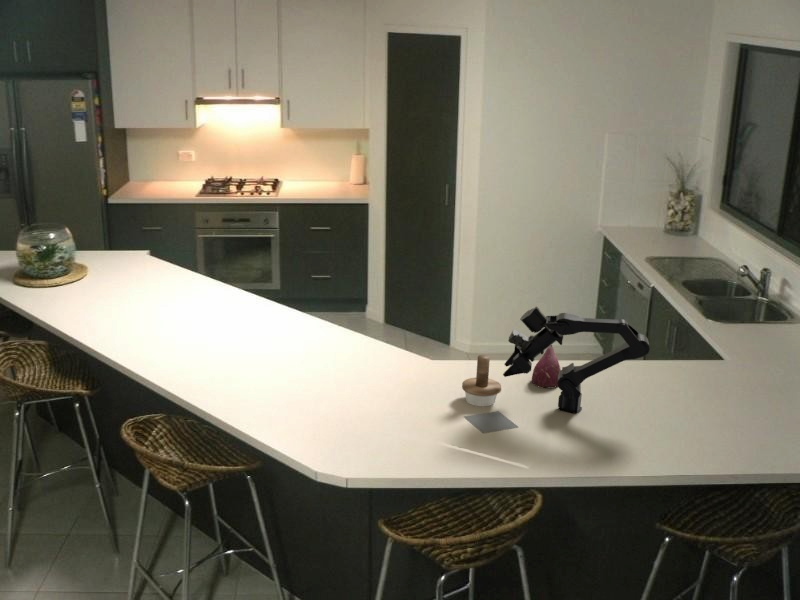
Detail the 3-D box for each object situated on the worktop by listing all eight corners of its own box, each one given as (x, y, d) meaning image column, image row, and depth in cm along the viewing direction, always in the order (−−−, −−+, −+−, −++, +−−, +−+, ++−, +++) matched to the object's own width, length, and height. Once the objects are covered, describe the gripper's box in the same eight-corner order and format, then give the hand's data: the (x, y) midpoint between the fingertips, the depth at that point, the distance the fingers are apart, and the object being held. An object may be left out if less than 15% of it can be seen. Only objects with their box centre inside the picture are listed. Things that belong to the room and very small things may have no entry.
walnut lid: (508, 392, 334) (511, 361, 330) (475, 398, 328) (477, 366, 324) (487, 378, 344) (489, 347, 341) (454, 384, 338) (456, 353, 335)
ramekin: (497, 397, 343) (498, 382, 341) (496, 410, 332) (498, 396, 330) (464, 394, 344) (465, 380, 342) (462, 408, 333) (463, 393, 331)
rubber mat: (498, 412, 330) (498, 410, 330) (518, 428, 319) (518, 427, 319) (463, 418, 325) (463, 416, 324) (482, 435, 313) (483, 433, 313)
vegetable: (538, 384, 363) (540, 342, 362) (565, 387, 357) (567, 345, 357) (526, 386, 354) (528, 343, 353) (553, 389, 348) (556, 346, 348)
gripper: (525, 314, 336) (490, 343, 341) (523, 333, 318) (486, 363, 323) (547, 339, 337) (511, 366, 342) (546, 359, 320) (509, 388, 325)
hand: (504, 370), depth 333 cm, fingers open, 9 cm apart
